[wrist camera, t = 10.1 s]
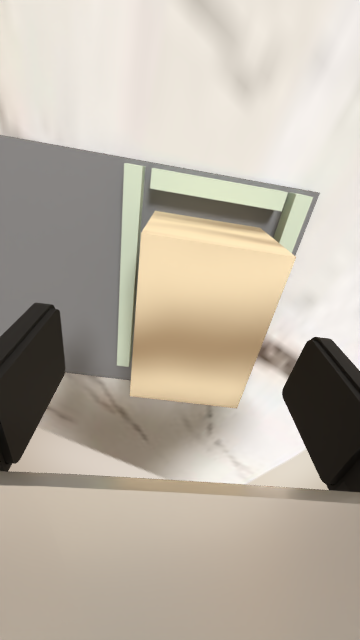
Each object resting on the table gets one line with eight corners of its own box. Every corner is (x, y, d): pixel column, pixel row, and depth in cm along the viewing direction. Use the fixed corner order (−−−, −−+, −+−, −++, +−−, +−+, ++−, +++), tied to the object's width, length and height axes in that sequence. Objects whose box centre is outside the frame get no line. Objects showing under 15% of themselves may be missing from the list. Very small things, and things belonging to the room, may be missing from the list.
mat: (-27, 356, 19) (-43, 370, 17) (-108, 115, 12) (-144, 109, 10) (239, 388, 20) (243, 404, 19) (315, 192, 13) (330, 194, 12)
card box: (155, 210, 13) (141, 232, 9) (259, 227, 13) (295, 257, 9) (143, 338, 17) (129, 396, 13) (223, 348, 17) (236, 408, 13)
